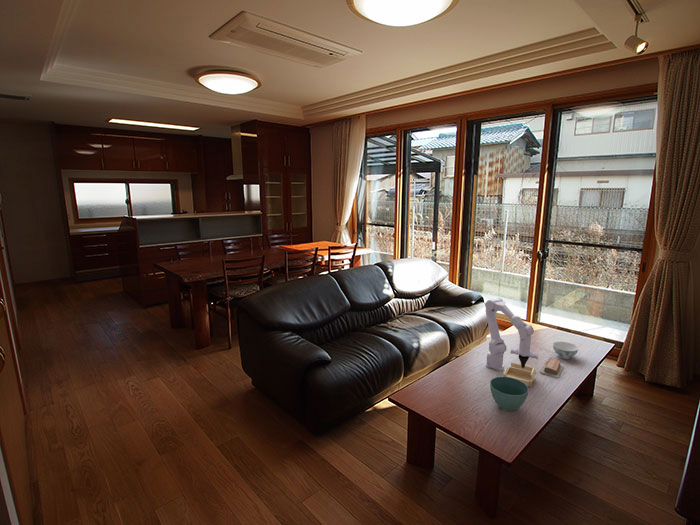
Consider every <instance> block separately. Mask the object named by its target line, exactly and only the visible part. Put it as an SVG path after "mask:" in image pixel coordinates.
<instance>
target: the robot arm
mask: <svg viewBox="0 0 700 525" xmlns="http://www.w3.org/2000/svg"><path fill="white" fill-rule="evenodd" d="M484 306H485V315H486V320H487V325H488V329H489V333H490V340H489V342H488V352H487V355H486V363H485V364H486V368H490V369H493V370H498V371H502V370H503V368H504V367H505V364H503V363H504V354H505V352H507V348H508V347H507V345H506V343H505V340H504V339H502V338H501V334H500V330H499V325H498V320H497V314H496V313H498V312H501V313H502V314H503V315H505V316H506V317H507V318H508V319H509V320H510V324H512V326H514V327H515V329H516V330H517V333H518V334H519V345H518V346H519V347H518V348H519V349H510V354H511V355H518V359H519V361H520V362H519V363H520V364H521V366H522V368H524V367H525V365H527V364H526V363H527V362H528V361H529V358H531V359H536V360H538V359H539V354H535V353H533V352H531V342H532V341H531V340H532V335H533V334H534V333H535V332H534V327H533V326H532V325H531V324H528V323H526V322H525V321H523V319H521V318H522V317H521V316H518V315H515V314H514V313H513V312H512V311H511V309H510V308H509V307H508V305H506V302H505V301H504V300H503V299H502V298H501V297H498V298H494V299H488V300H486V302H485V303H484Z"/></svg>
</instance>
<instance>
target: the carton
mask: <svg viewBox="0 0 700 525" xmlns="http://www.w3.org/2000/svg"><path fill="white" fill-rule="evenodd" d="M502 377H510V378H514V379H517V380H519V381H521V382H523V383H524V384H526V385H527V387H528V388H531V387H532V386H533V383H534V380H533V381H532V378H531V371H527V370H522V369H518V368H514V367H511V366H506V367H505V369H504V372H503V373H502Z"/></svg>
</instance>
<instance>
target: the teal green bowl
mask: <svg viewBox="0 0 700 525" xmlns="http://www.w3.org/2000/svg"><path fill="white" fill-rule="evenodd" d="M489 386H490V393H491V396H492V398H493V400H494V402H495V404H496V405H497V406H498V408H500V410H503V411H505V412H510V413H511V412H515V411H516V410H518V409H519V408H520V407H522V406H523V404H525V402H526V399H527V398H528V395H529V386H527V385H526V384H524V383H523V382H521V381H519V380H517V379H514V378H510V377H503V376H498V377H497V376H496V377H493V378H492V379H490V381H489Z"/></svg>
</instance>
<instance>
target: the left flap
mask: <svg viewBox="0 0 700 525" xmlns="http://www.w3.org/2000/svg"><path fill="white" fill-rule="evenodd" d="M510 367H512V368H516V369H520V370H524V371H529V372H532V369H533V368H534V367H533V366H532V365H529V364H528V365H527V364H525V367H524V368H522V366H521V363H520V362H519V363H517V362H515V361H514V362H513V361H510Z"/></svg>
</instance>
